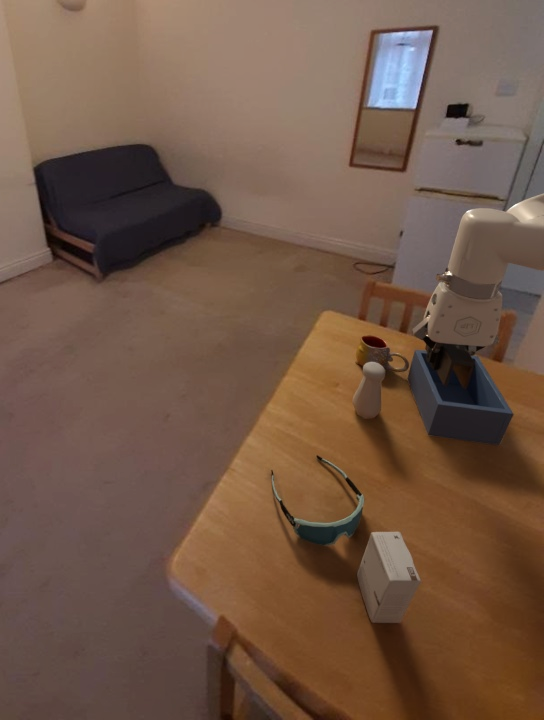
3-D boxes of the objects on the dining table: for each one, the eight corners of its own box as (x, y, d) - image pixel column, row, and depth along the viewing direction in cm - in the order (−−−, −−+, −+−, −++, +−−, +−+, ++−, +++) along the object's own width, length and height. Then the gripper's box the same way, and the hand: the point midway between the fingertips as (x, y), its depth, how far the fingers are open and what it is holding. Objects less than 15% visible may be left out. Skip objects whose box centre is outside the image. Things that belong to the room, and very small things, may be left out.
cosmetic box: (355, 574, 62) (367, 529, 57) (384, 574, 62) (399, 528, 57) (371, 626, 57) (387, 581, 51) (403, 626, 57) (422, 580, 51)
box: (467, 385, 94) (478, 356, 91) (499, 445, 81) (513, 414, 77) (407, 378, 97) (414, 349, 93) (427, 435, 83) (438, 404, 79)
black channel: (444, 349, 79) (452, 326, 77) (466, 388, 70) (475, 363, 68) (424, 348, 80) (431, 324, 77) (443, 386, 71) (451, 361, 68)
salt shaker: (370, 427, 85) (381, 381, 80) (345, 410, 90) (354, 366, 84) (384, 412, 89) (395, 367, 83) (359, 396, 93) (368, 353, 87)
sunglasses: (304, 561, 64) (304, 538, 62) (261, 482, 78) (261, 462, 76) (378, 531, 67) (381, 509, 66) (325, 461, 81) (326, 441, 79)
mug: (350, 362, 103) (354, 341, 100) (362, 348, 107) (366, 328, 104) (399, 386, 95) (405, 365, 92) (410, 371, 99) (416, 350, 96)
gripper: (424, 291, 65) (402, 375, 73) (541, 298, 62) (505, 386, 70) (410, 267, 72) (391, 348, 80) (516, 273, 69) (485, 356, 77)
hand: (444, 365), depth 75 cm, fingers closed on black channel, 3 cm apart
